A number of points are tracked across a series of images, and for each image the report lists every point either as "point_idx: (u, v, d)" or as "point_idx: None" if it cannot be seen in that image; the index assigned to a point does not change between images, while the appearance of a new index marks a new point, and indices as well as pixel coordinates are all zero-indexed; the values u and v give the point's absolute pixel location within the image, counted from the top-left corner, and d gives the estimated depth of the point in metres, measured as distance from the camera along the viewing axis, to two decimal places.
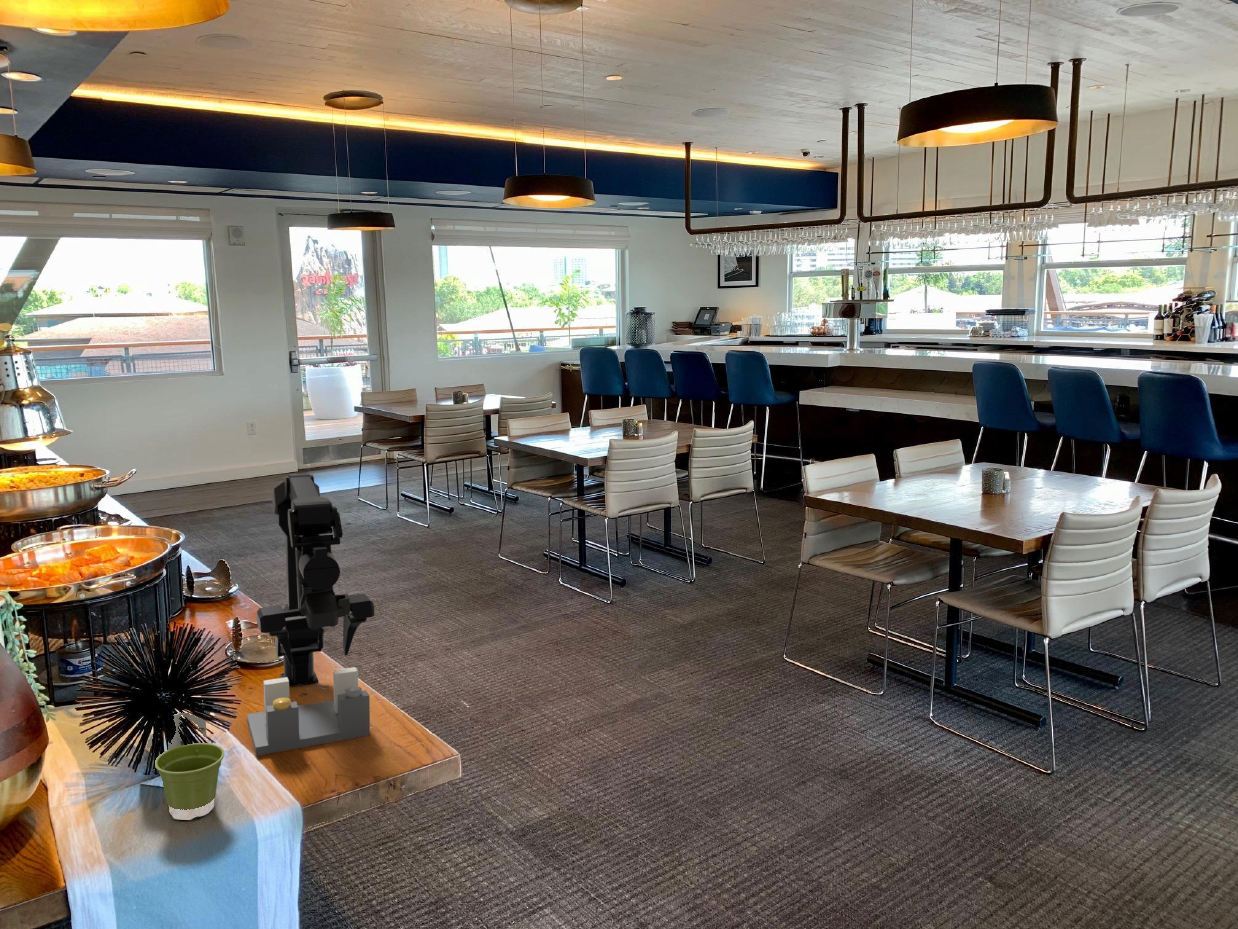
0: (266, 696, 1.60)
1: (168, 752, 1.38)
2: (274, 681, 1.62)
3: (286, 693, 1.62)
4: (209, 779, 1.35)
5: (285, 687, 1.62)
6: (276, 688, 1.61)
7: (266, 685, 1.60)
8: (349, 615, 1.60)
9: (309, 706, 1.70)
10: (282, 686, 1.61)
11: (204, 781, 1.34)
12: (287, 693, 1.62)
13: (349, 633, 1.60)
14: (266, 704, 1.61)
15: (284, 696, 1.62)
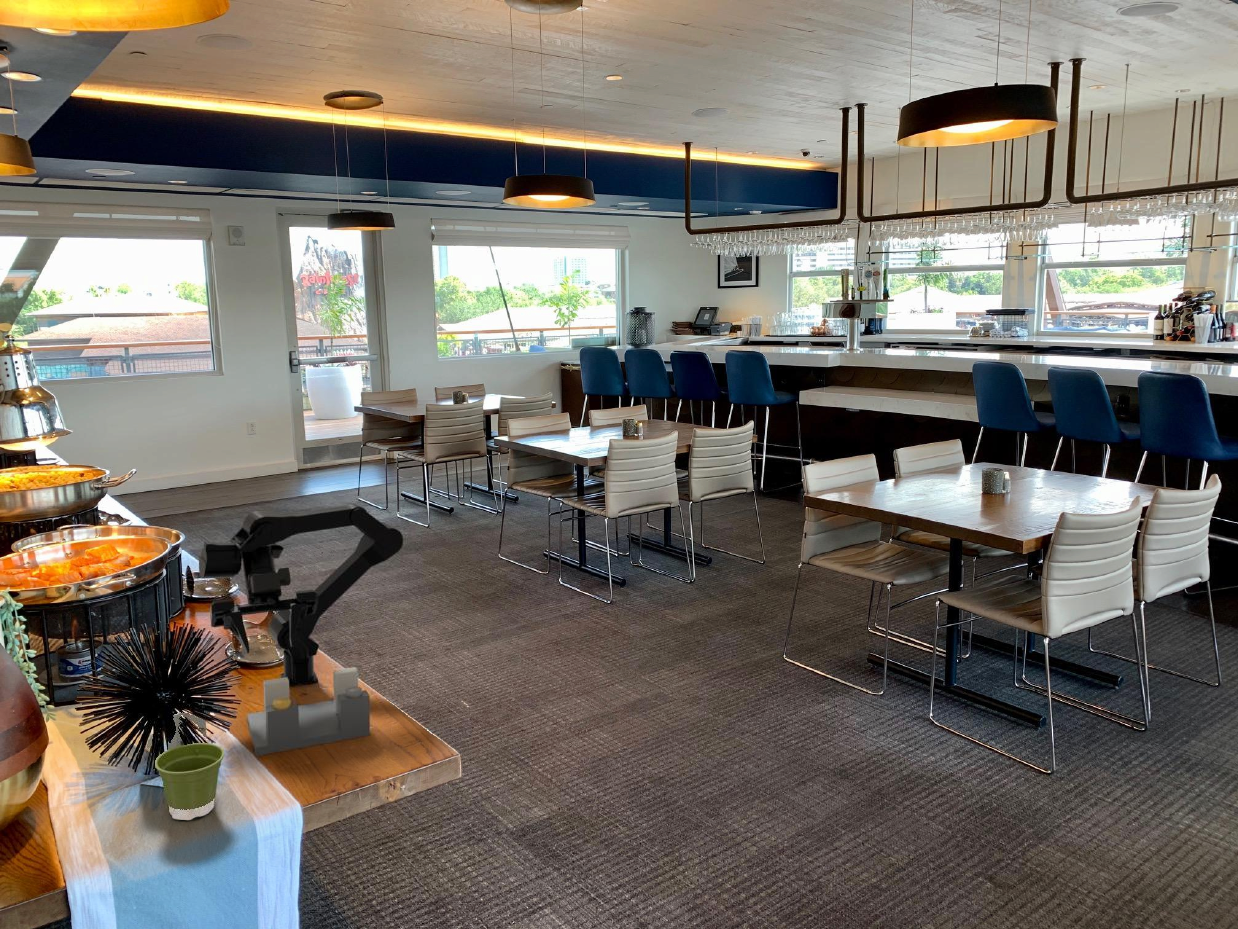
0: (266, 696, 1.60)
1: (168, 752, 1.38)
2: (274, 681, 1.62)
3: (286, 693, 1.62)
4: (209, 779, 1.35)
5: (285, 687, 1.62)
6: (276, 688, 1.61)
7: (266, 685, 1.60)
8: None
9: (309, 706, 1.70)
10: (282, 686, 1.61)
11: (204, 781, 1.34)
12: (287, 693, 1.62)
13: (292, 621, 1.72)
14: (266, 704, 1.61)
15: (284, 696, 1.62)
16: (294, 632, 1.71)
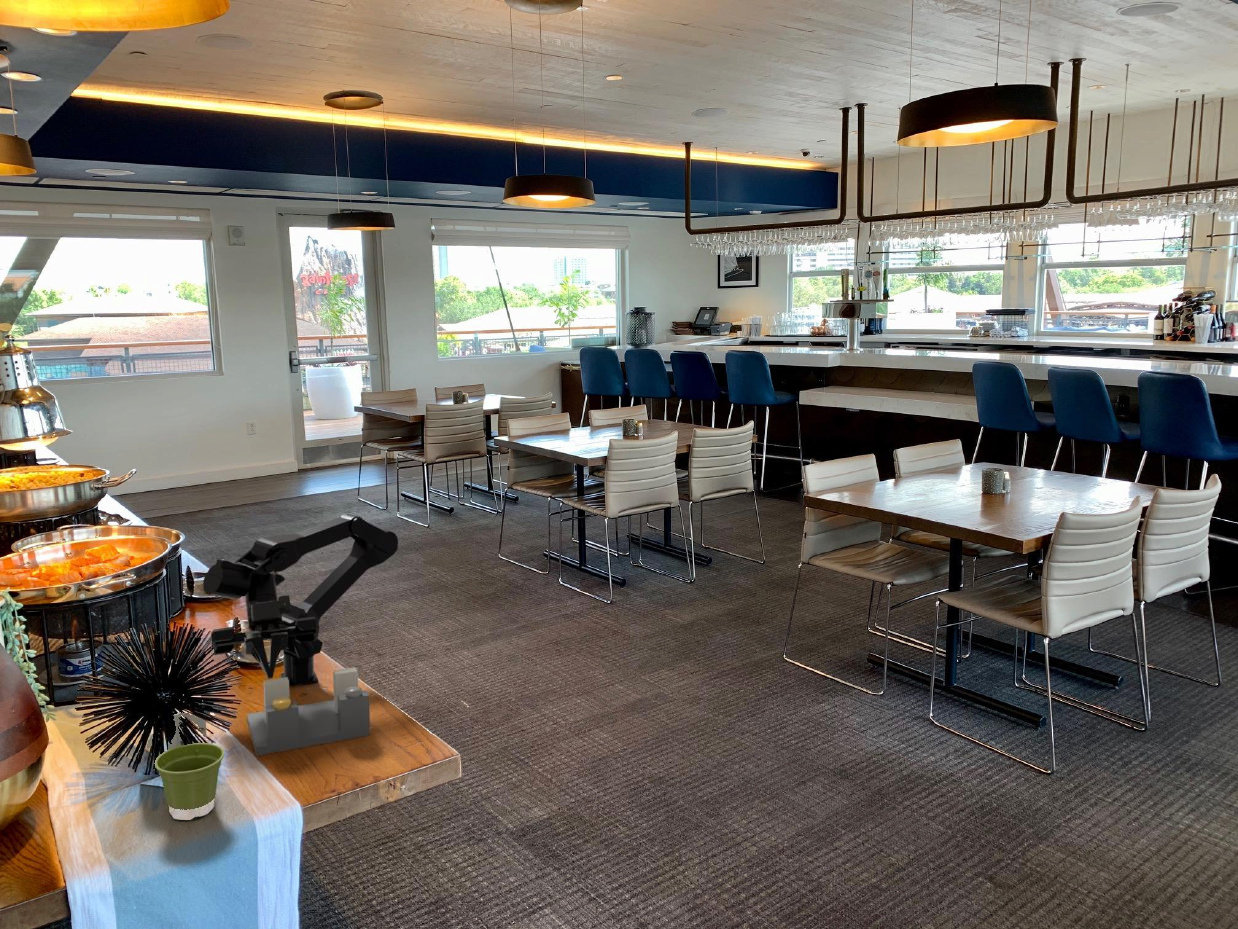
0: (266, 696, 1.60)
1: (168, 752, 1.38)
2: (274, 681, 1.62)
3: (286, 693, 1.62)
4: (209, 779, 1.35)
5: (285, 687, 1.62)
6: (276, 688, 1.61)
7: (266, 685, 1.60)
8: None
9: (309, 706, 1.70)
10: (282, 686, 1.61)
11: (204, 781, 1.34)
12: (287, 693, 1.62)
13: (272, 652, 1.69)
14: (266, 704, 1.61)
15: (284, 696, 1.62)
16: (273, 663, 1.68)
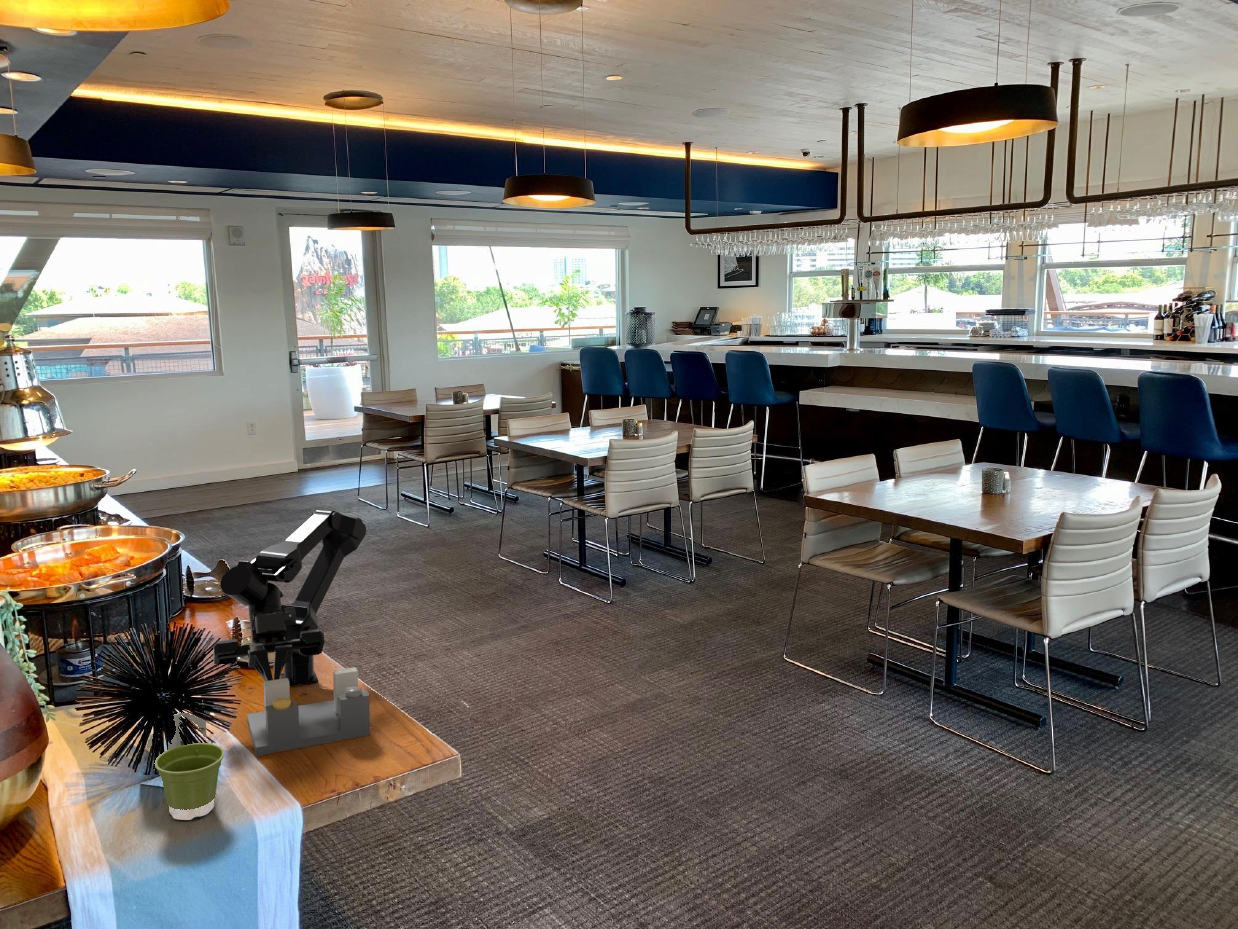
0: (266, 697, 1.60)
1: (168, 752, 1.38)
2: (275, 682, 1.61)
3: (286, 694, 1.62)
4: (209, 779, 1.35)
5: (286, 688, 1.61)
6: (276, 689, 1.61)
7: (266, 686, 1.60)
8: None
9: (309, 706, 1.70)
10: (282, 687, 1.61)
11: (204, 781, 1.34)
12: (287, 694, 1.62)
13: (276, 665, 1.64)
14: (266, 705, 1.60)
15: (284, 697, 1.62)
16: (278, 677, 1.64)
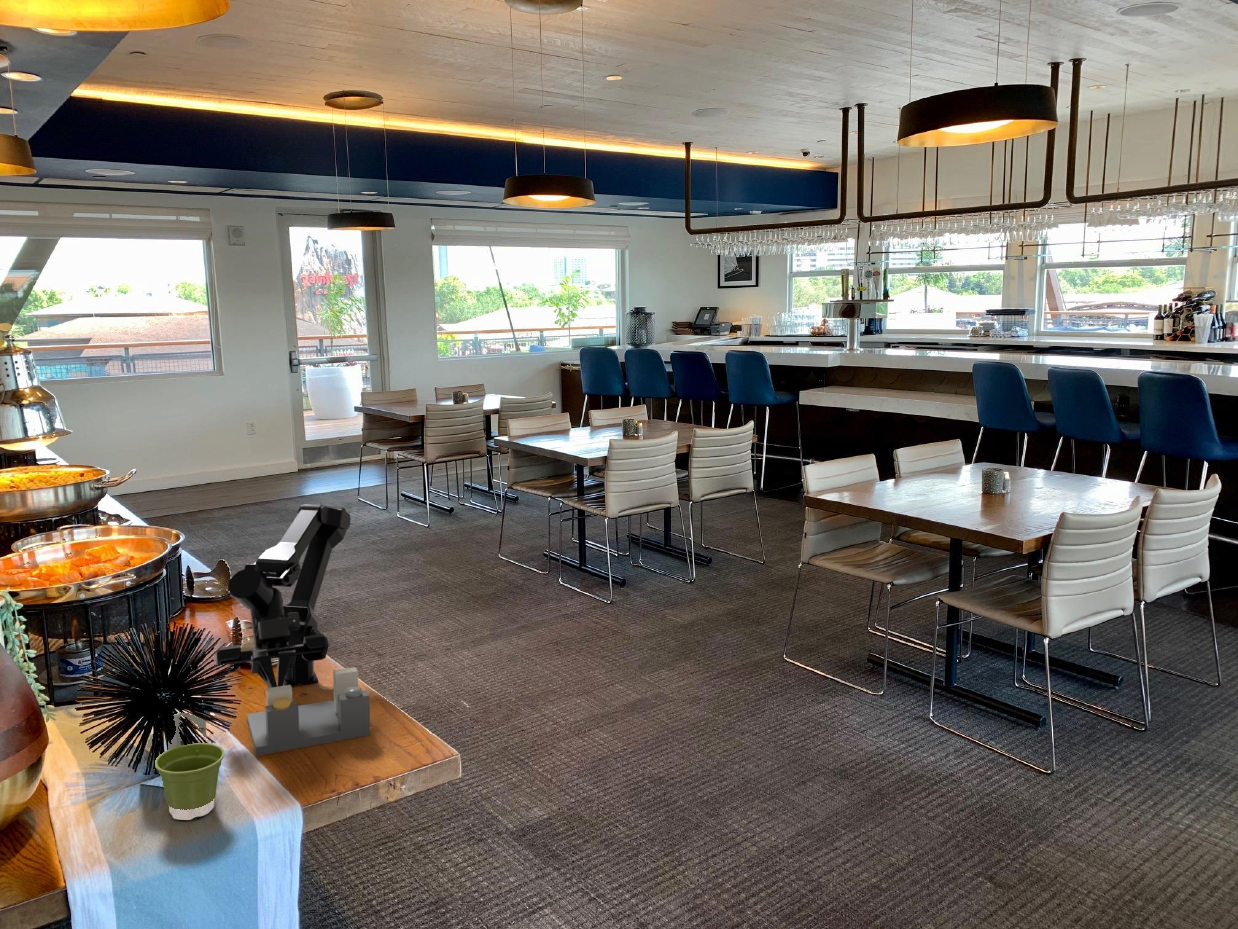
0: (269, 704, 1.57)
1: (168, 752, 1.38)
2: (277, 689, 1.58)
3: None
4: (209, 779, 1.35)
5: (288, 695, 1.59)
6: (279, 696, 1.58)
7: (269, 693, 1.57)
8: None
9: (309, 706, 1.70)
10: (285, 694, 1.58)
11: (204, 781, 1.34)
12: None
13: (280, 671, 1.62)
14: None
15: None
16: (282, 683, 1.61)
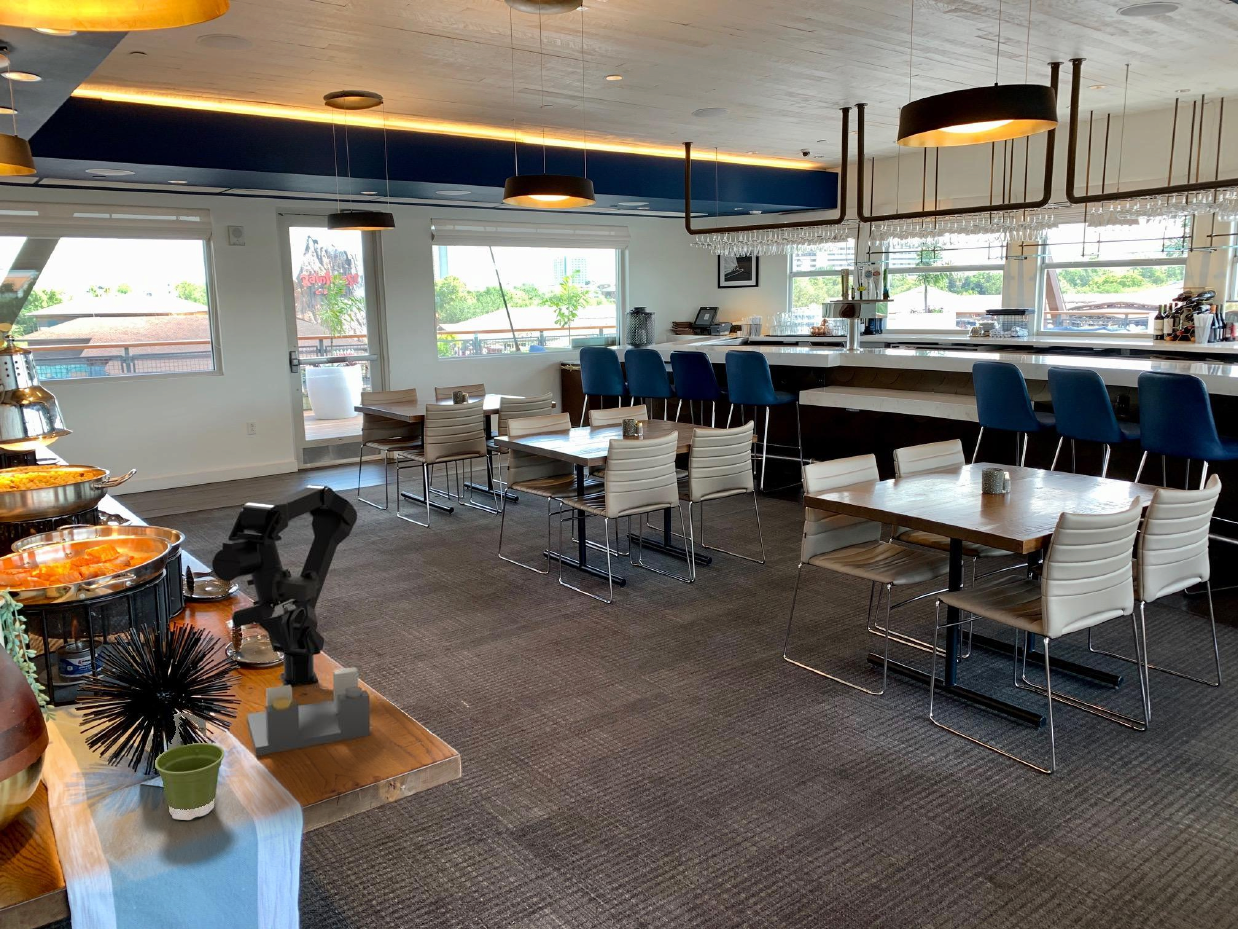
0: (269, 704, 1.57)
1: (168, 752, 1.38)
2: (277, 689, 1.58)
3: None
4: (209, 779, 1.35)
5: (288, 695, 1.59)
6: (279, 696, 1.58)
7: (269, 693, 1.57)
8: (282, 610, 1.72)
9: (309, 706, 1.70)
10: (285, 694, 1.58)
11: (204, 781, 1.34)
12: None
13: (289, 625, 1.71)
14: None
15: None
16: (292, 636, 1.72)
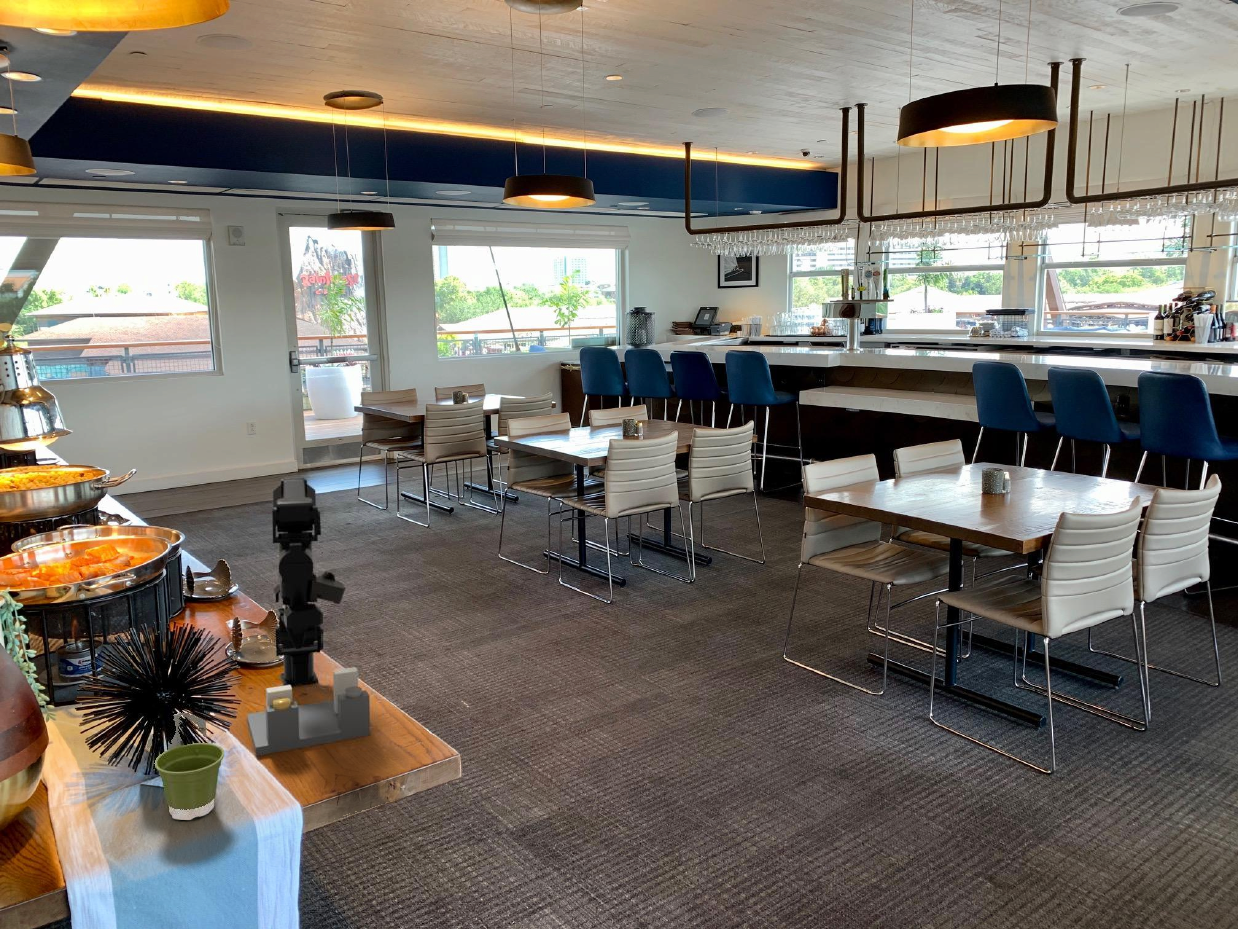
0: (269, 704, 1.57)
1: (168, 752, 1.38)
2: (277, 689, 1.58)
3: None
4: (209, 779, 1.35)
5: (288, 695, 1.59)
6: (279, 696, 1.58)
7: (269, 693, 1.57)
8: None
9: (309, 706, 1.70)
10: (285, 694, 1.58)
11: (204, 781, 1.34)
12: None
13: None
14: None
15: None
16: None
